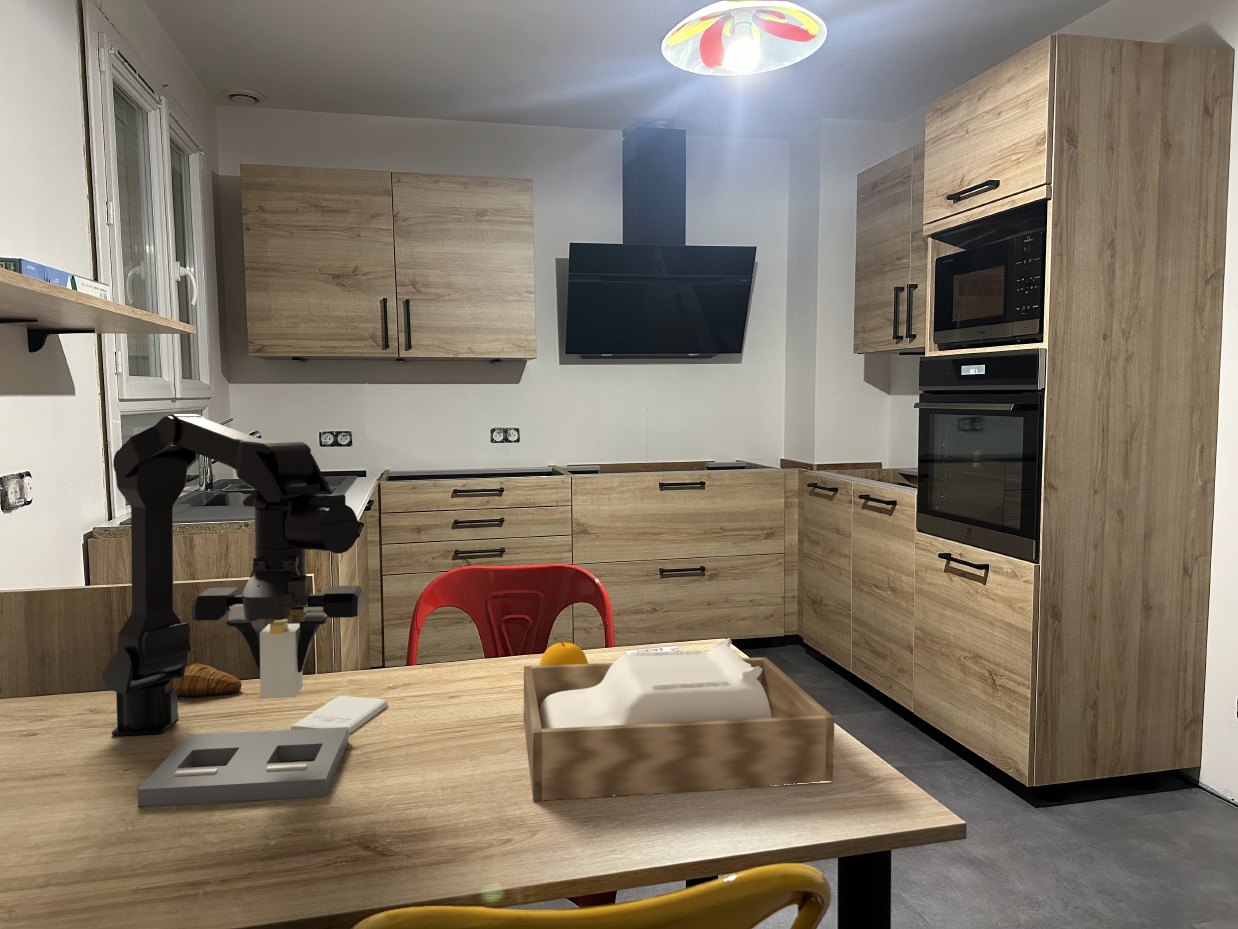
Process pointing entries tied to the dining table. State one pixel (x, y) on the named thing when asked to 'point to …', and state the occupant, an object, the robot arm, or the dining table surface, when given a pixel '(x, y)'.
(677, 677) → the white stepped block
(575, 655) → the apple
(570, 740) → the wooden crate
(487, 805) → the dining table surface
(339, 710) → the external hard drive
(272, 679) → the plug
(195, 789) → the panel
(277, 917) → the dining table surface
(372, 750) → the dining table surface
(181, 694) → the croissant
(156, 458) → the robot arm
